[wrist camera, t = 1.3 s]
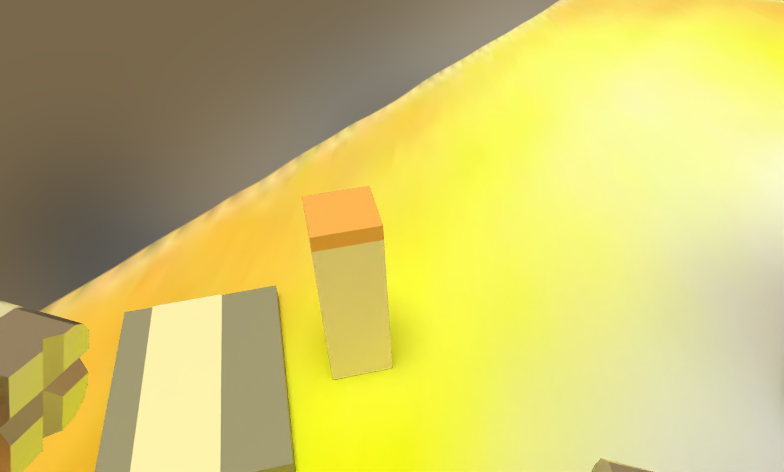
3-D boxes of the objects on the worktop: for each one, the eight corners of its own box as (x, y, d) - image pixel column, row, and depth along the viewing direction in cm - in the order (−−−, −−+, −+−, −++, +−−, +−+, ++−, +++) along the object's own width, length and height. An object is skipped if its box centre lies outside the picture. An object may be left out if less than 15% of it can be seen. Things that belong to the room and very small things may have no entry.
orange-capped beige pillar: (380, 325, 43) (369, 185, 35) (392, 367, 40) (382, 225, 32) (325, 335, 42) (302, 196, 35) (333, 379, 39) (309, 237, 32)
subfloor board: (278, 295, 46) (275, 284, 45) (295, 472, 34) (292, 462, 33) (129, 321, 44) (124, 311, 43) (94, 517, 33) (87, 507, 32)
